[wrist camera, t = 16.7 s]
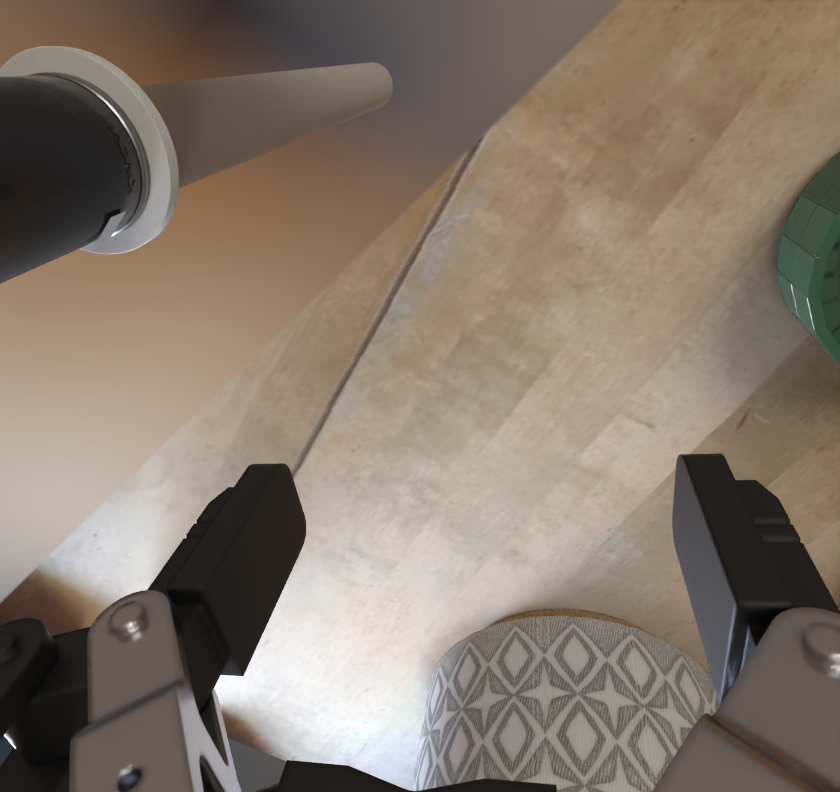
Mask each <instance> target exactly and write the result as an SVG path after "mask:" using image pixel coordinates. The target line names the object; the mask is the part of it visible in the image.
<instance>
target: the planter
mask: <svg viewBox="0 0 840 792" xmlns="http://www.w3.org/2000/svg"><path fill="white" fill-rule="evenodd" d="M719 706H720V703H719V700H718V696H717V692H716V689H715V685H714V682H713V679H712V678H711V677H710V676H709V675H708V673H707V672H706V671H705V670H704V669H703V668H702V666H701V665H700V664H698V663H697V662H696V661H695V660H694V659H692V658H691V657H690V656H689V655H687V654H686V653H685V652H684V651H682V650H680V649H678V648H677V647H675V646H673V645H672V644H670V643H668V642H667V641H665V640H663V639H661V638H658V637H656V636H654V635H651V634H649V633H648V632H646V631H644V630H642V629H641V628H639V627H637V626H635V625H633V624H630V623H628V622H626V621H623V620H621V619H618V618H614V617H611V616H608V615H604V614H600V613H595V612H590V611H584V610H572V609H544V610H537V611H530V612H525V613H521V614H517V615H513V616H510V617H507V618H505V619H502V620H500V621H497V622H495V623H494V624H492V625H490V626H489V627H487V628H485V629H483V630H480V631H478V632H475V633H473V634H471V635H470V636H468V637H466V638H465V639H463V640H461V641H460V642H458V643H457V644H456V645H454V646H453V647H452V648H451V649H450V650H449V651H448V652H446V653H445V655H444V656H443V657H442V658H441V660H440V661H439V662H438V664H437V665H436V667H435V669H434V672H433V674H432V676H431V679H430V684H429V690H428V696H427V703H426V709H425V715H424V721H423V727H422V733H421V739H420V746H419V752H418V758H417V764H416V770H415V776H414V782H413V789H412V791H420V790H425V789H431V788H436V787H441V786H447V785H452V784H457V783H463V782H468V781H473V780H479V779H484V778H487V779H498V780H509V781H520V782H531V783H542V784H553V785H556V787H557V792H652V791H653V789H654V787H655V786H656V784H657V783H658V781H659V780H660V778H661V776H662V775H663V773H664V772H665V770H666V769H667V767H668V765H669V764H670V762H671V761H672V759H673V758H674V756H675V754H676V753H677V751H678V750H679V748H680V746H681V745H682V743H683V742H684V740H685V739H686V737H687V735H688V734H689V732H690V731H691V729H692V728H693V726H694V725H695V723H696V722H697V721H698V720H699V718H700V717H701V716H702V715H704V714H706V713H708V714H710V715H711V716H712V715H713V714H714V713H715V712H716V711H717V709H718V708H719Z"/></svg>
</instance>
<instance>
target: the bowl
mask: <svg viewBox="0 0 840 792" xmlns="http://www.w3.org/2000/svg"><path fill="white" fill-rule="evenodd" d="M782 232H783V233H782V234H781V241H780V248H779V254H778V261H777V275H778V279H779V284H780V288H781V292H782V297H783V301H784V302H785V304H786V306H787V307H788V308H789V310H790V311H791V312H792V314H793V315H794V316H795V318H796V319H797V320H798V322H799V323H800V324H801V326H802V327H803V328H804V329H805V330H806V331H807V332H808V333H809V334H810V335H811V336H812V337H813V338H814V340H815V341H817V343H818V344H819V345H820V346H821V347H822V348H823V349H824V350H825V351H826V352H827V353H828V354H829V355H830V356H831V357H832V358H833V359H834V360H835V361H836V362H837V363H839V364H840V152H839V153H838V154H836V155H835V156H834V157H832V158H831V159H830V161H829V162H828V163H827V164H826V165H825V166H824V167H823V169H822V170H821V171H820V172H819V173H818V174H817V175H816V177H815V178H814V179H813V180H812V181H811V182H810V184H809V185H808V186H807V187H806V188H805V189H804V190H803V192H802V193H801V195H800V196H799V198H798V201H797V203H796V205H795V207H794V209H793V211H792V213H791V215H790V217H789V219H788V221H787V223H786V225H785V227H784V229H783V231H782Z"/></svg>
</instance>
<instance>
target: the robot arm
mask: <svg viewBox="0 0 840 792" xmlns="http://www.w3.org/2000/svg"><path fill="white" fill-rule="evenodd" d="M150 183H151V179H150V168H149V162H148V158H147V154H146V151H145V148H144V145H143V143H142V140H141V138H140V136H139V134H138V132H137V130H136V129H135V127H134V125H133V123H132V122H131V120H130V119H129V118H128V116H127V115H126V114H125V112H124V111H123V110H122V109H121V107H120V106H119V105H118V104H117V103H116V102H115V101H114V100H113V99H112V98H111V97H110V96H109V95H107V94H106V93H105V92H104V91H102V90H101V89H100V88H98V87H97V86H95V85H94V84H92V83H90V82H88V81H86V80H84V79H82V78H80V77H77V76H74V75H71V74H67V73H60V72H43V73H34V74H31V75H26V76H9V77H0V283H2V282H5V281H7V280H9V279H12V278H14V277H16V276H18V275H21V274H23V273H25V272H27V271H30V270H32V269H34V268H36V267H38V266H41V265H43V264H45V263H47V262H50V261H52V260H54V259H56V258H59V257H61V256H63V255H65V254H68V253H70V252H72V251H74V250H76V249H79V248H82V247H84V246H86V245H88V244H91V243H93V242H95V241H97V242H96V244H95V246H94V247H93V249H95V248H97V247H99V246H101V245H103V244H105V243H108V241H109V239H110V238H111V236H113V235H115V234H117V233H120V232H122V231H124V230H126V229H128V228H129V227H131V226H132V225H133V224H134V223H135V222H136V221H137V220H138V219H139V218H140V216H141V215H142V213H143V211H144V209H145V207H146V205H147V202H148V198H149V194H150ZM93 249H92V250H93ZM672 524H673V537H674V543H675V548H676V552H677V555H678V559H679V562H680V566H681V569H682V573H683V576H684V580H685V584H686V587H687V591H688V594H689V598H690V601H691V605H692V608H693V612H694V615H695V619H696V622H697V626H698V629H699V633H700V636H701V640H702V643H703V647H704V650H705V654H706V657H707V661H708V664H709V668H710V671H711V675H712V678H713V682H714V685H715V689H716V692H717V696H718V700H719V703H720V706H719V708H718V709H717V711H716V712H715V713H714V714H713V715H712V716H711V715H710V714H708V713H706V714H704V715H702V716H701V717H700V718H699V720H698V721H697V722H696V723H695V725H694V726H693V728H692V729H691V731H690V732H689V734H688V735H687V737H686V739H685V740H684V742H683V743H682V745H681V746H680V748H679V750H678V751H677V753H676V754H675V756H674V758H673V759H672V761H671V762H670V764H669V765H668V767H667V769H666V770H665V772H664V773H663V775H662V776H661V778H660V780H659V781H658V783H657V784H656V786H655V787H654V789H653V791H652V792H840V611H839V609H838V607H837V605H836V604H835V602H834V600H833V598H832V596H831V594H830V593H829V591H828V589H827V587H826V585H825V583H824V582H823V580H822V578H821V576H820V574H819V572H818V570H817V569H816V567H815V565H814V563H813V561H812V559H811V558H810V556H809V554H808V552H807V550H806V548H805V547H804V545H803V543H801V542H800V537H799V535H798V534H797V532H796V530H795V528H794V526H793V525H791V524H790V519H789V517H788V515H787V513H786V512H785V510H784V508H783V506H782V504H781V502H780V501H779V499H778V498H777V497H776V496H775V495H773V494H772V493H771V492H770V491H768V490H767V489H766V488H765V487H764V486H762V485H761V484H760V483H759V482H757V481H756V480H735V478H734V476H733V474H732V472H731V470H730V468H729V465H728V463H727V461H726V459H725V457H724V456H723V455H722V454H686V455H679V456H678V458H677V464H676V476H675V490H674V503H673V517H672ZM305 536H306V520H305V515H304V512H303V509H302V506H301V503H300V500H299V496H298V493H297V490H296V487H295V484H294V481H293V478H292V474H291V471H290V469H289V467H288V466H287V465H286V464H284V463H282V464H252V465H250V466H248V468H247V469H246V470H245V472H244V473H243V475H242V476H241V478H240V479H239V481H238V482H237V484H236V485H235V486H234V487H228V488H227V489H226V490H225V491H223V492H222V493H221V494H220V495H218V496H217V497H216V498H215V499H213V500H212V501H211V502H210V503H209V504H208V505H207V507H206V508H205V509H204V511H203V512H202V514H201V515H200V516H199V518H198V519H197V524H194V525H193V526H192V528H191V529H190V531H189V532H188V533H187V538H186V539H183V540H182V542H181V543H180V545H179V546H178V548H177V549H176V550H175V552H174V553H173V555H172V556H171V557H170V559H169V560H168V562H167V563H166V564H165V566H164V567H163V569H162V570H161V572H160V573H159V574H158V576H157V577H156V579H155V580H154V581H153V583H152V584H151V586H150V587H149V588H148V590H146V591H139V592H136V593H132V594H130V595H127V596H125V597H123V598H121V599H119V600H118V601H116V602H114V603H113V604H111V605H110V606H109V607H107V608H106V609H105V610H104V611H103V612H102V613H101V614H100V615H99V616H98V617H97V618H96V620H95V621H94V622H93V624H92V626H91V627H88V628H84V629H80V630H76V631H72V632H68V633H63V634H59V635H55V636H51V635H50V634H49V632H48V631H47V629H46V628H45V626H44V625H43V623H42V622H41V621H39V620H37V619H33V618H25V619H19V620H15V621H12V622H9V623H6V624H4V625H2V626H0V739H1V738H2V737H3V735H4V736H5V737H6V738H7V740H8V741H9V742H10V743H11V744H12V746H13V747H14V748H13V749H12V751H11V752H10V754H9V755H8V756H7V758H6V759H5V761H4V762H3V764H2V765H1V767H0V792H241V789H240V786H239V783H238V780H237V776H236V773H235V768H234V764H233V760H232V756H231V751H230V747H229V744H228V739H227V735H226V730H225V726H224V722H223V718H222V713H221V709H220V705H219V701H218V697H217V694H216V692H215V690H214V687H215V685H216V683H217V681H218V679H219V677H220V675H235V676H243V675H244V673H245V671H246V669H247V667H248V664H249V662H250V660H251V658H252V656H253V654H254V651H255V649H256V647H257V645H258V643H259V640H260V638H261V636H262V634H263V632H264V630H265V627H266V625H267V623H268V621H269V619H270V617H271V614H272V612H273V610H274V608H275V606H276V603H277V601H278V599H279V597H280V595H281V593H282V590H283V588H284V586H285V584H286V582H287V580H288V577H289V575H290V573H291V571H292V569H293V567H294V564H295V562H296V560H297V558H298V556H299V553H300V551H301V549H302V547H303V544H304V541H305ZM254 792H557V787H556V785H553V784H542V783H531V782H520V781H509V780H498V779H487V778H484V779H479V780H473V781H468V782H463V783H457V784H452V785H447V786H441V787H436V788H431V789H425V790H420V791H409V790H406V789H403V788H401V787H398V786H396V785H393V784H391V783H389V782H386V781H384V780H381V779H379V778H376V777H374V776H372V775H369V774H367V773H364V772H362V771H360V770H357V769H355V768H352V767H350V766H345V765H334V764H323V763H312V762H301V761H290V760H287V762H286V765H285V768H284V770H283V773H282V776H281V779H280V782H279V783H278V784H274V785H270V786H267V787H264V788H261V789H258V790H256V791H254Z"/></svg>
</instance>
